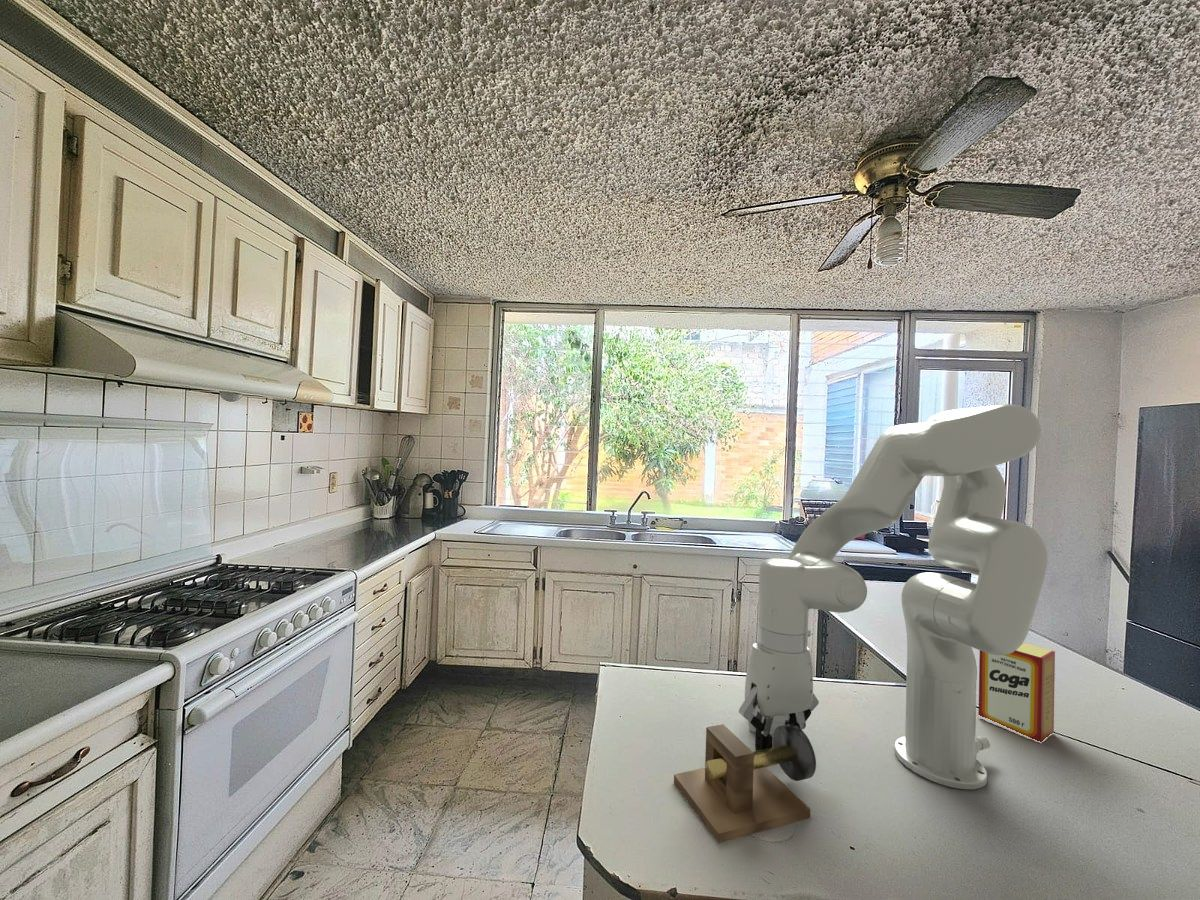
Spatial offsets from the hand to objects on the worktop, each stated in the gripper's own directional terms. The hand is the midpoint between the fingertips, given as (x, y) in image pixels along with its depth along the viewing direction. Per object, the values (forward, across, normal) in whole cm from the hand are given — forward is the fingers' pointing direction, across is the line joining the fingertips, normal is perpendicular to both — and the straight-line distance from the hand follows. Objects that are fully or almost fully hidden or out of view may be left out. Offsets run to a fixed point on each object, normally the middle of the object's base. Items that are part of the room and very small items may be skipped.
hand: (778, 752), depth 75 cm
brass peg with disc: (+2, +6, +3) cm, 7 cm away
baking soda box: (+4, -55, +2) cm, 55 cm away
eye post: (+4, +9, +3) cm, 10 cm away
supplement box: (+4, -8, -12) cm, 15 cm away
